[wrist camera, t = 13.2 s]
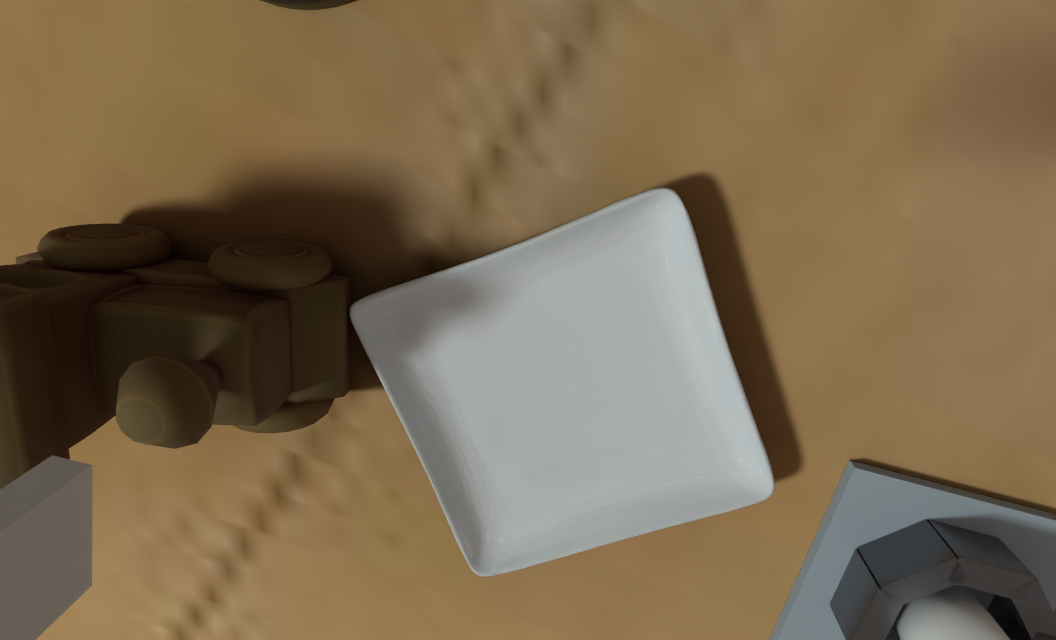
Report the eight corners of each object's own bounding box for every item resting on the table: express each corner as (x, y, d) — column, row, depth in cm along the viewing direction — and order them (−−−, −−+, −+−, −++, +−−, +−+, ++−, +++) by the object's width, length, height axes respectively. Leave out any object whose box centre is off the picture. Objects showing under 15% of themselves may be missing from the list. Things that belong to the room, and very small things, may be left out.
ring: (875, 504, 44) (902, 542, 40) (1050, 551, 44) (1093, 593, 40) (811, 642, 47) (829, 688, 44) (972, 685, 47) (1004, 735, 43)
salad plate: (770, 472, 46) (784, 501, 42) (482, 554, 50) (474, 586, 46) (671, 173, 40) (677, 178, 37) (358, 292, 45) (340, 306, 41)
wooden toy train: (86, 370, 48) (-165, 498, 32) (66, 209, 45) (-227, 264, 29) (362, 402, 47) (241, 552, 31) (362, 238, 43) (227, 313, 27)
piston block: (849, 460, 44) (905, 538, 36) (1090, 523, 44) (1201, 617, 36) (765, 648, 49) (798, 754, 41) (981, 707, 49) (1057, 825, 41)
